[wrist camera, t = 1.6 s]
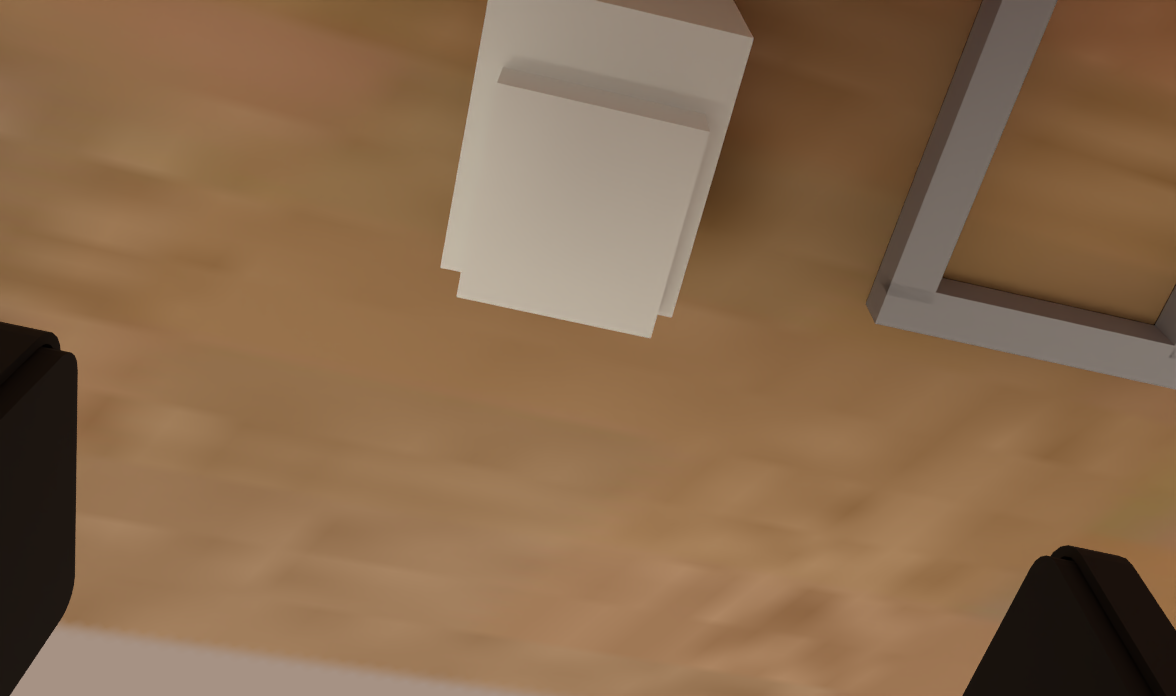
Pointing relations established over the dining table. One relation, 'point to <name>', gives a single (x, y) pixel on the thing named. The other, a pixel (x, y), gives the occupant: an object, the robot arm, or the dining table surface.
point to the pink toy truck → (941, 207)
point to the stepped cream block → (592, 154)
